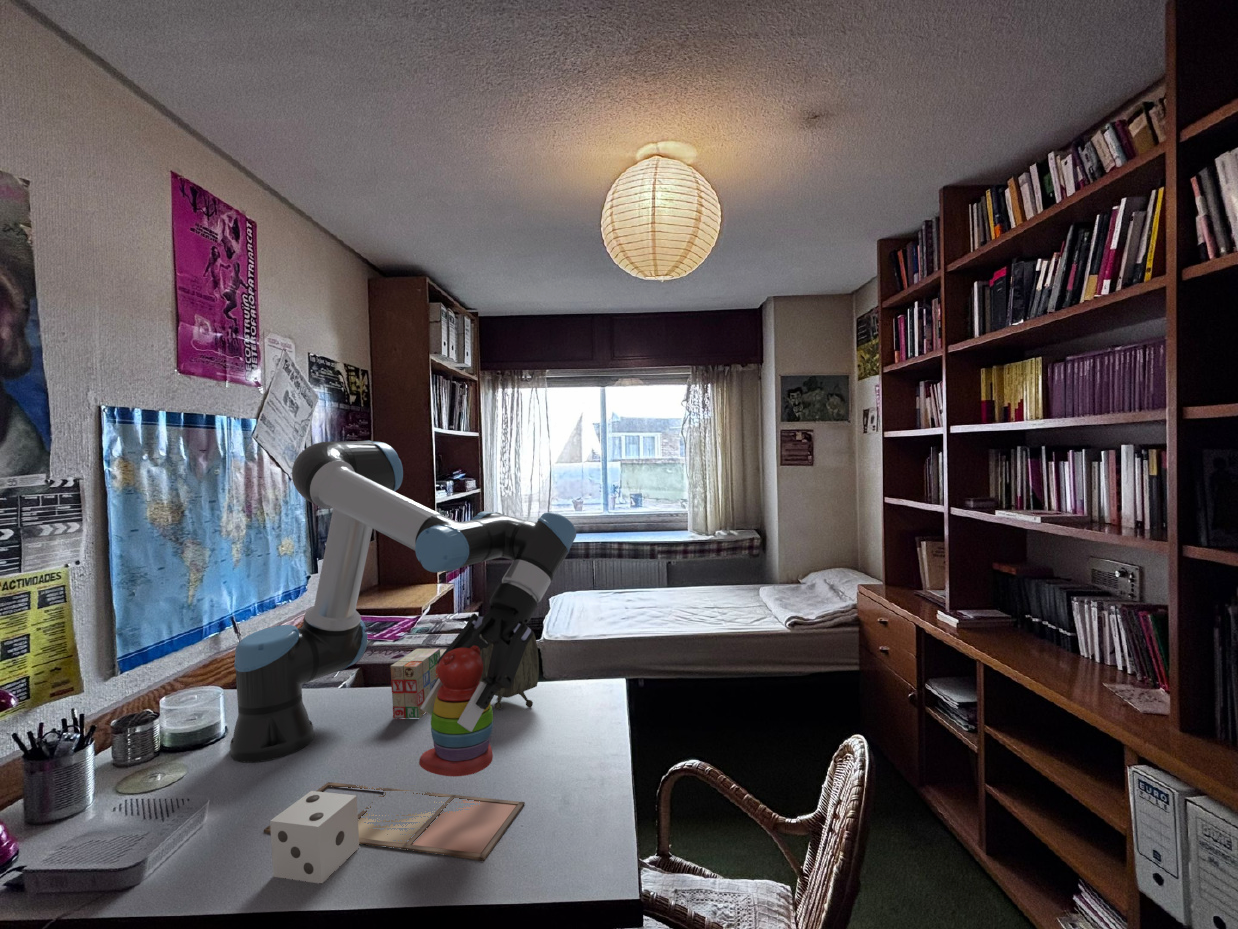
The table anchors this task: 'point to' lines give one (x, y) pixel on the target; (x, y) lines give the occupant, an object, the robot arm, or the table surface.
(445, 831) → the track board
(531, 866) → the table surface
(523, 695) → the tabletop clock
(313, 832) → the die
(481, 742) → the stacking bear
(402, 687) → the stack of blocks
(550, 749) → the table surface
